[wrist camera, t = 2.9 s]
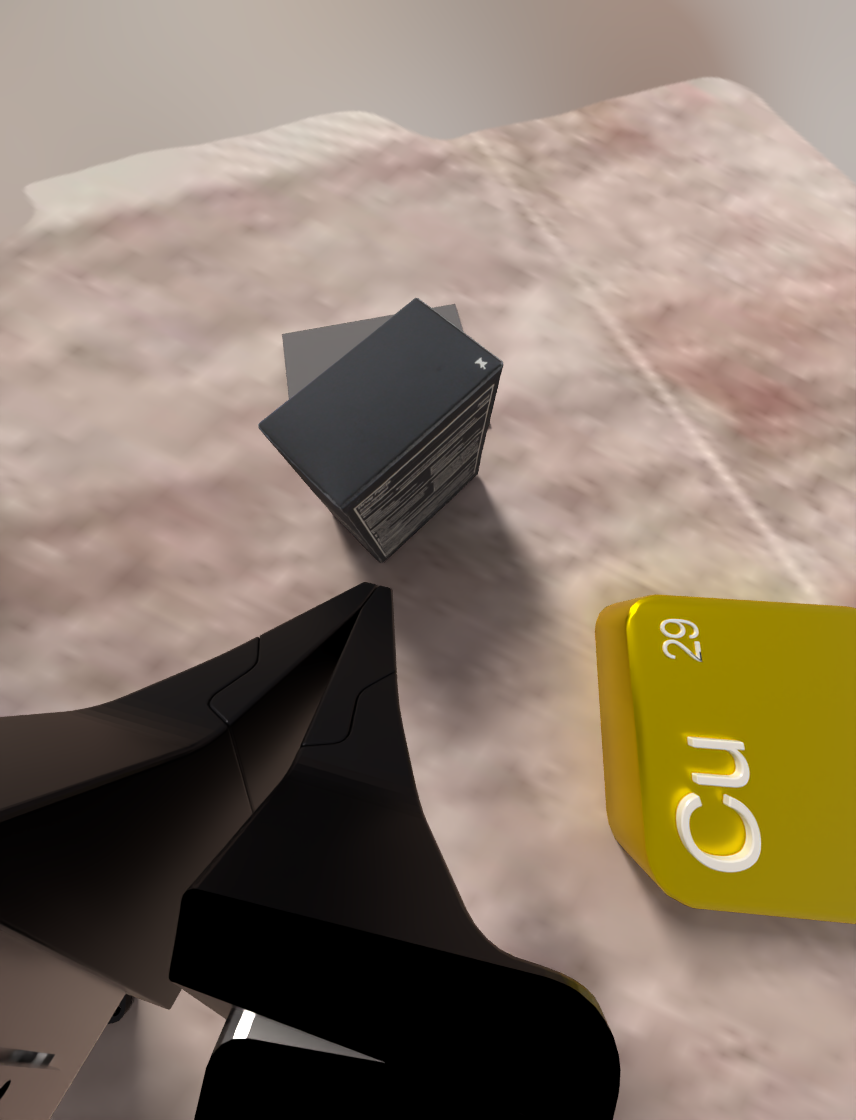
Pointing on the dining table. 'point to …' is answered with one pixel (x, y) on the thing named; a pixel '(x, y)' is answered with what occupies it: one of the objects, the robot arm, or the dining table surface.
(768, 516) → the dining table surface
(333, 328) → the dark rubber mat
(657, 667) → the element tile
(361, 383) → the small box
